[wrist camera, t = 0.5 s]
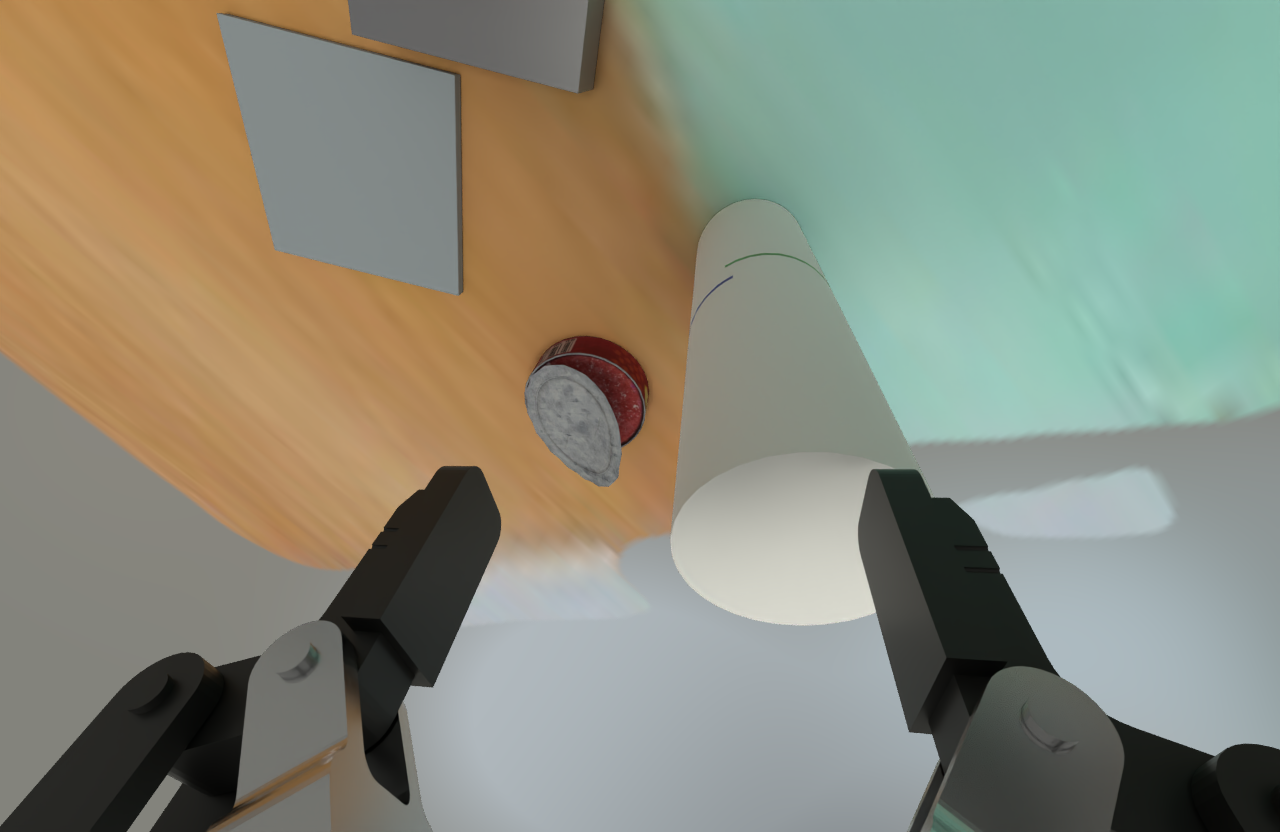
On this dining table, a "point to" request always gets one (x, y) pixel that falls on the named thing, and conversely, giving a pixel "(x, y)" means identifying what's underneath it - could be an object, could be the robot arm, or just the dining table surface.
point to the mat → (352, 153)
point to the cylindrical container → (775, 429)
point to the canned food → (587, 404)
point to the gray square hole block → (494, 34)
